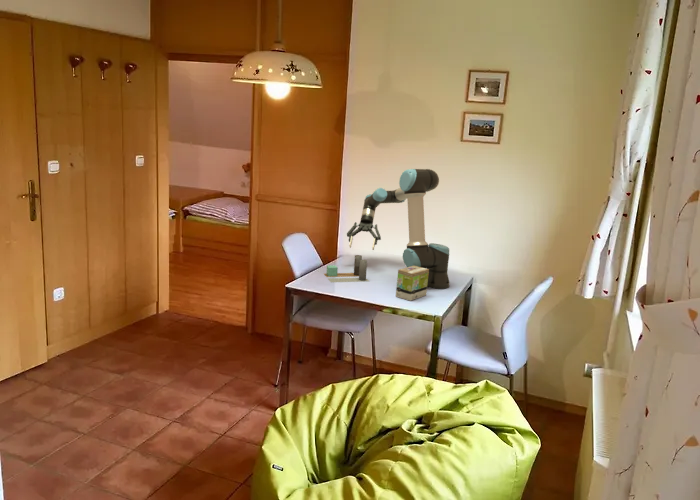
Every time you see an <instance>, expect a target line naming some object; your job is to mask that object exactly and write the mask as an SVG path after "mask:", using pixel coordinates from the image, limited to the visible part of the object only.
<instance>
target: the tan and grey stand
mask: <svg viewBox="0 0 700 500" xmlns="http://www.w3.org/2000/svg"><path fill="white" fill-rule="evenodd" d="M360 260H363V255H360V254H355V255H354V263H353V265H354V266H353V272H337V276H328V275H327V274H326V273H323V275H324V277H326V278H358V277H359V268H360Z"/></svg>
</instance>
